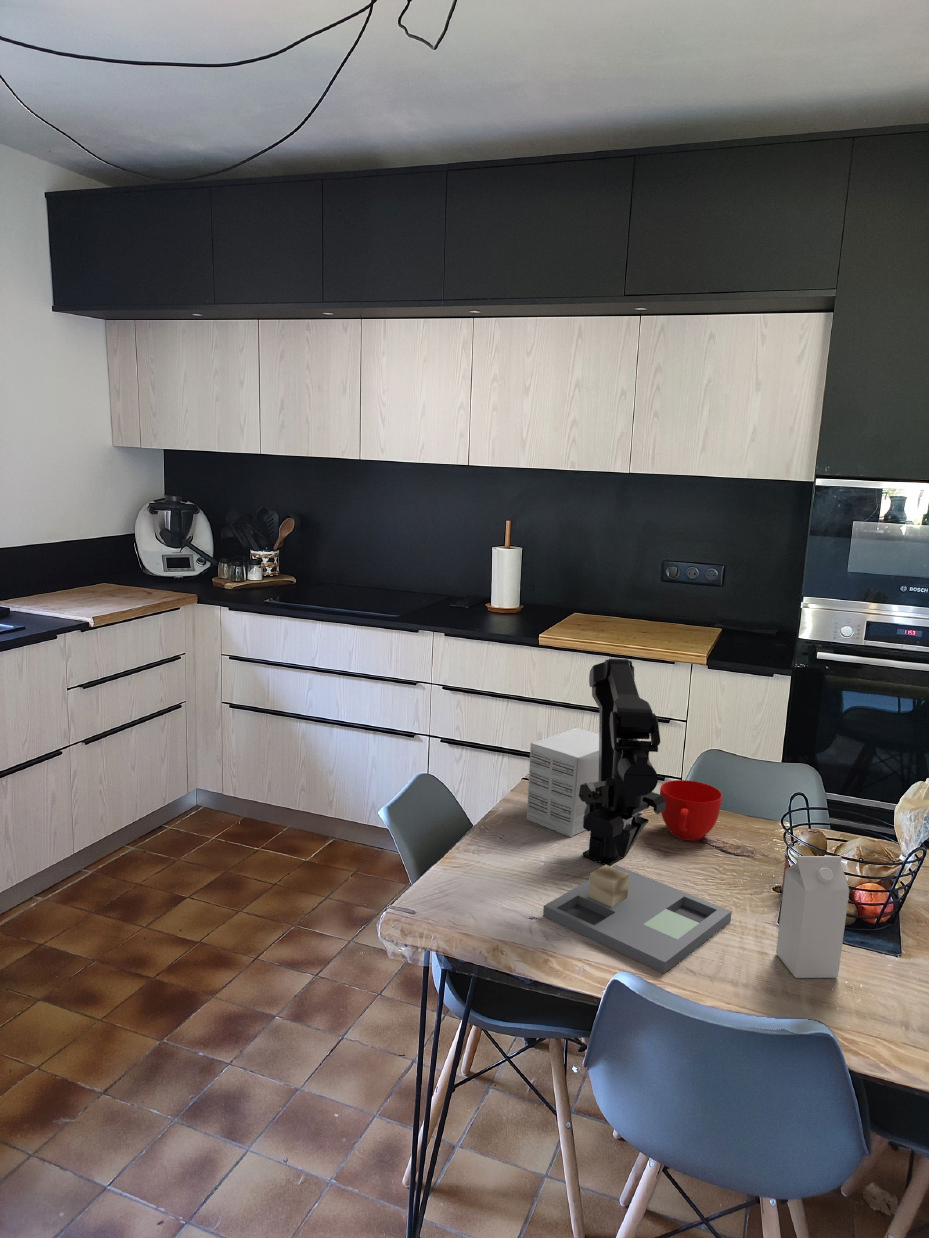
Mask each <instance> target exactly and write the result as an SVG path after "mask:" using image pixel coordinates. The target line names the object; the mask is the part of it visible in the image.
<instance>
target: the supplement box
mask: <svg viewBox="0 0 929 1238" xmlns="http://www.w3.org/2000/svg"><path fill="white" fill-rule="evenodd" d="M529 750H530V751H529V752H530V753H529V766H528V767H529V770H528V772H529V773H528V787H527V808H526V809H527V811H526V820H527V821H530V822H533V823H535V824H537V825H540V826H542V827H544V826H545V828H548V829H550V830H551V831H554V830H555V831H554V832H557V833H560V834H562V835H563V836H564V835H565V836H567V837H570V838H572V837H573V836H576V835H578V834H580V833H583V832H585V831H587V830H586V829H584V828H583V817H584V811H585V809H586V806H587V804H585V802H582V801H581V799H580V797H579V790H580V785H581V784H584V783H587V784H588V783H590V782H592V783H594V782H598V780H599V733H596V732H592V731H590V730H589V731H588V730H585V729H583V728H579V727H574V728H571V729H569V730H566V731H563V732H560V733H557V734H555V735H554V734H553V735H551V736H548V737H545V738H542V739H540V740H536V741H534V742H530V749H529Z"/></svg>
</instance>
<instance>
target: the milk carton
mask: <svg viewBox="0 0 929 1238" xmlns="http://www.w3.org/2000/svg"><path fill="white" fill-rule="evenodd" d="M841 862H842V856H841V855H839V856H838V855H835V856H834V855H832V856H831V855H827V856H826V855H824V856H819V855H817V856H798V860H797V863H796V864H794V865H792V866H791V867H789V868H788V869H786V871H785V880H784V888H783V892H782V896H781V897H782V898H781V899H782V900H781V907H780V908H781V909H780V916H779V924H778V932H777V939H776V940H777V941H776V947H775V948H776V950H775V954H776V955H777V956H778V957H779V959H780V960H781V961H782V962H783V963H784V965H785V966H786V968H787V969H788V970H789V971H790V973H791V974H792V976H793V977H794V978H795V979H826V978H827V979H828V978H829V979H830V978H831V979H834V978H838V977H839V974H840V973H839V971H840V964H841V957H842V949H843V942H844V934H845V926H846V920H847V919H846V918H847V911H848V904H849V896H850V895H849V894H850V888H849V885H848V881H847V879H846V875H845V872H844V868H843V866H842V863H841Z"/></svg>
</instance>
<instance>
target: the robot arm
mask: <svg viewBox="0 0 929 1238" xmlns="http://www.w3.org/2000/svg"><path fill="white" fill-rule="evenodd" d="M588 675H589V676H588V683H589V687H590V688H591V696H592V699H593V700H594V701H595V703H596V705H597V707H598V709H599V712H598V713H599V721H598V722H599V728H598V729H599V730H598V734H599V780H598V782H594V783H592V782H590V783H588V784H587V783H584V784H581V785H580V790H579V797H580V799H581V801H582V802H585V804H587V806H586V809H585V811H584V817H583V828H584V829H586V830H585V831H587V832H590V834H589V844H588V849H587V850H584V851H583V852H582V856H583V857H585V858H588V859H591V860H593V861H595V862H599V863H600V864H602V865H608V866H611V865H612V864H614V863H616V862H618V861H620V860H621V859H624V858H626V857H627V855H628V853H629V852H630V850H631V848H632V847H633V846H634V844H635V842H636V841H637V839H638V837H639V835H640V834H641V833H642V832H643V830H644V828H645V827H646V825H647V824H649V819H648V818H647V817H646V818H645V817H643V813H642V812H643V811H646V810H647V809H650V807H652V808H653V812H654V813H655V814H656V815H659V814H661V812H663V811H665V807H666V800H665V799H664V797H663V796H662V795H660V793H657V792H653V791H654V790H655V789H656V787H657V785H658V781H659V776H658V773H657V771H656V770H655V768H654V766H653V765H652V763H651V761H650V757H649V756H650V752H651V753H654V752H655V753H658V752H659V746H660V744H661V735H660V727H659V726H660V725H659V719H657V715H656V713H653V709H652V708H651V704H650V703H649V702H648V701H647V700H645V699H643V698H641V697H640V695H639V691H638V688H637V685H636V681H635V666H634V665H633V661H632V660H629V659H627V658H608V659H605V660H604V661H603V662H599V663H597V664H594V665H592V667H591V668H590V671H589V674H588Z"/></svg>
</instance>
